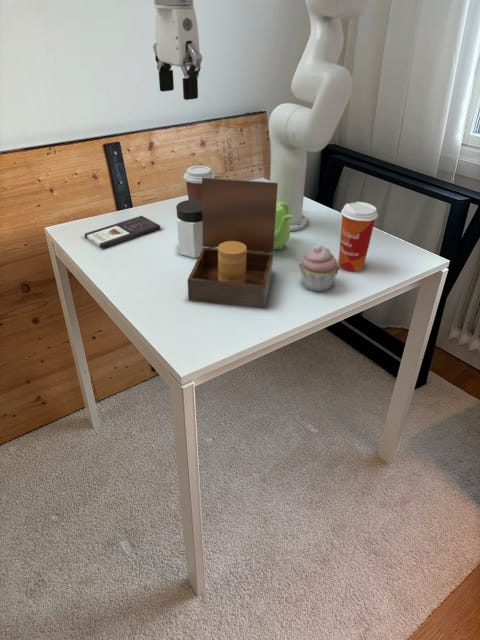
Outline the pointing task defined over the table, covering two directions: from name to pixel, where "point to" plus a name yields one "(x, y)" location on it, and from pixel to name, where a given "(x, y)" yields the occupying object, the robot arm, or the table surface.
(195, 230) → the jar
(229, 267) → the cookie stack
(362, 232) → the coffee cup
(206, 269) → the chest
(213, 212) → the lid
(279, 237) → the teapot
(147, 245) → the table surface
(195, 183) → the coffee cup
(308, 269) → the cupcake
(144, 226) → the chocolate bar
